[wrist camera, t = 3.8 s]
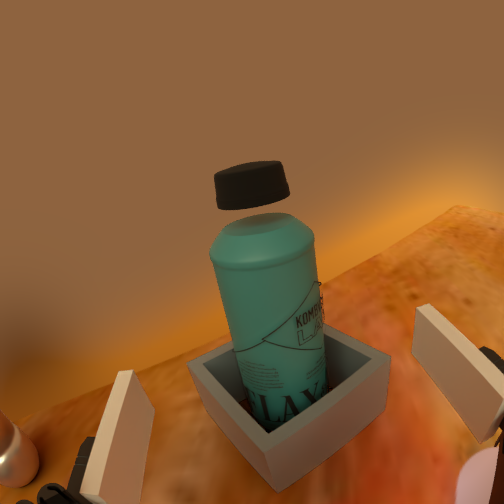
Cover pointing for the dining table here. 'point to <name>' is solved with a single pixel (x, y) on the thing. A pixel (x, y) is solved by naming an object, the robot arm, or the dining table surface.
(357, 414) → the bottle holder
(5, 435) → the plastic bottle
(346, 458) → the dining table surface
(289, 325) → the beverage bottle
